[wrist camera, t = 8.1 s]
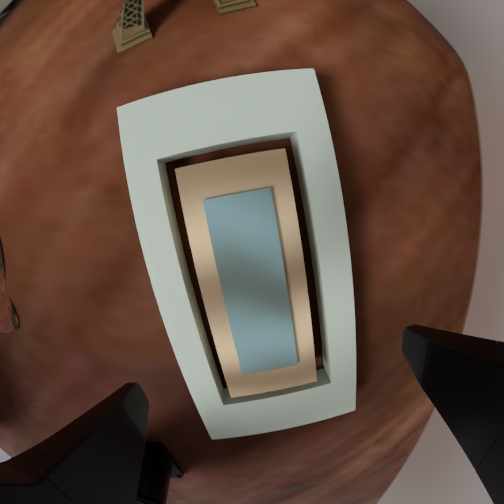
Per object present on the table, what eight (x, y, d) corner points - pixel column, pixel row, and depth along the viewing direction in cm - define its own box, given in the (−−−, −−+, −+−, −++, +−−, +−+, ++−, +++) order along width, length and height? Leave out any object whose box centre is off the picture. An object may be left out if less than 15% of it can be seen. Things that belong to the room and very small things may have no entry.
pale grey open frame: (347, 396, 21) (355, 410, 19) (212, 423, 21) (211, 439, 19) (306, 79, 16) (313, 68, 14) (128, 115, 16) (116, 107, 14)
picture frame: (307, 358, 20) (317, 382, 17) (231, 373, 20) (230, 399, 17) (277, 155, 17) (285, 147, 14) (184, 172, 17) (173, 168, 14)
